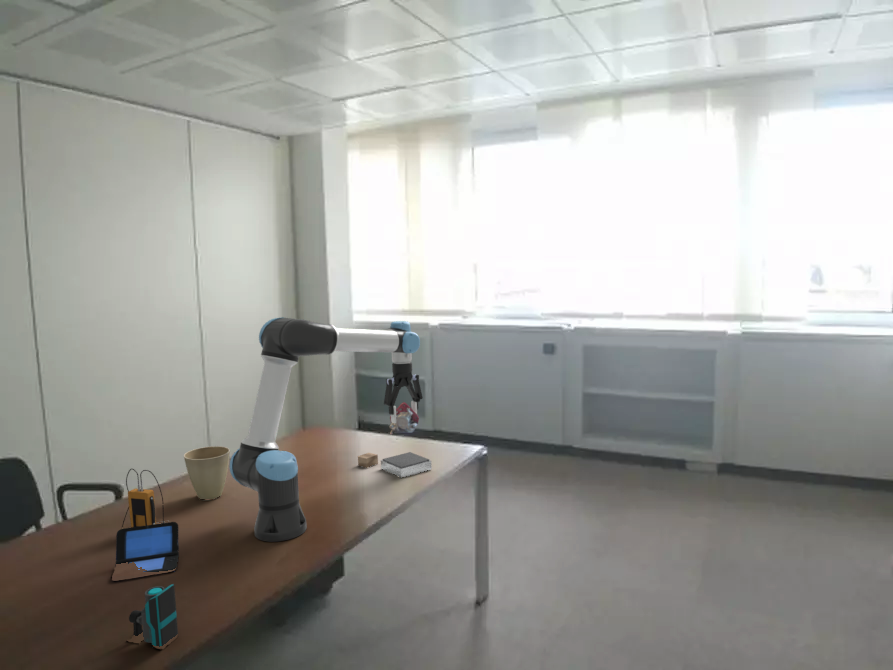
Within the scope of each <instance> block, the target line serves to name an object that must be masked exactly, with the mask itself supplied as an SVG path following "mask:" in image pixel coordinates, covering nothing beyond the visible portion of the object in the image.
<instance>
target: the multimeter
mask: <svg viewBox="0 0 893 670" xmlns="http://www.w3.org/2000/svg"><path fill="white" fill-rule="evenodd" d="M132 470H133V471H134V472H135V473H136V475H137V488H136V487H135V488H133V489H131V490H129V487H128V476H129V473H130V472H131V471H132ZM146 471H147V472H149V473H150V474H151V475H152V476H153V477H154V479H155V481H156V483H157V485H158V487H159V488H158V489H159V492H160V496H161V501H162V503H164V498H163V493H162V490H161V487H160V483H159V482H158V480H157V477H156V476H155V474H154V473H153V472H152V471H150V470H148V469H143V470H142V471H141V472H140V475H139V473H138V472H137V470H136V469H135V468H130V469H129V470H128V472H127V473H126V477H125V486H126V489H127V500H128V507H127V510H126V512H125V516H124V518H123V522H122V524H121V528H122V527H123V528H124V525H125V524H124V523H125V520H126V517H127V514H128V512H129V520H130V527H138V526H146V525H153V524H156V523H157V517H156V514H157V513H156V504H155V503H156V502H155V492H154V490H153V489H145V488H144V486H143V482H142V481H143V480H142V474H143V473H144V472H146ZM139 476H140V477H139ZM139 478H140V480H139ZM164 510H165V509H164V506H162V522H163V523H165V521H164Z"/></svg>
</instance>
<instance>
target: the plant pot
mask: <svg viewBox="0 0 893 670" xmlns="http://www.w3.org/2000/svg"><path fill="white" fill-rule="evenodd" d="M230 452H231V450H230V448H229V447H226V446H220V445H219V446H218V445H217V446H216V445H215V446H214V445H213V446H205V447H204V446H203V447H197V448H194V449H192V450H188V451H187V452H185V453H184V454H183V458H184V459H183V460H184V463H185V467H186V470H187V474H188V478H189V480H190V482H191V485H192V487H193V489H194V492H195V493H196V496H197V497H198V499H199V498H200V499H213V500H215V499H214V498H216V499H218V498H217V497H219V496H220V497H221V496H222V494H223V490H224V487H225V483H226V480H227V476H228V471H229V470H228V469H229V464H230ZM220 497H219V498H220ZM200 499H199V500H200Z"/></svg>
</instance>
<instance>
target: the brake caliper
mask: <svg viewBox="0 0 893 670" xmlns="http://www.w3.org/2000/svg"><path fill="white" fill-rule="evenodd" d="M396 420H397V421H396V423H392V422H391V415H390V416H389V421H390V425H389V426H388V427H389V429H390V432H389V434H390V435H394V434H395V433H396V434H401V433H402V434H403V433H409V434H410V433H411V434H412V433H414V432H415V430H416V428H417V427H418V424H419V421H420V417H419V415H418V413H417V414H416V413H415V412H414V411H413V410H412V409H411V407H410V405H409V404H407V403H406V402H402V403H400V404H399V406H398V407H396Z"/></svg>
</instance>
